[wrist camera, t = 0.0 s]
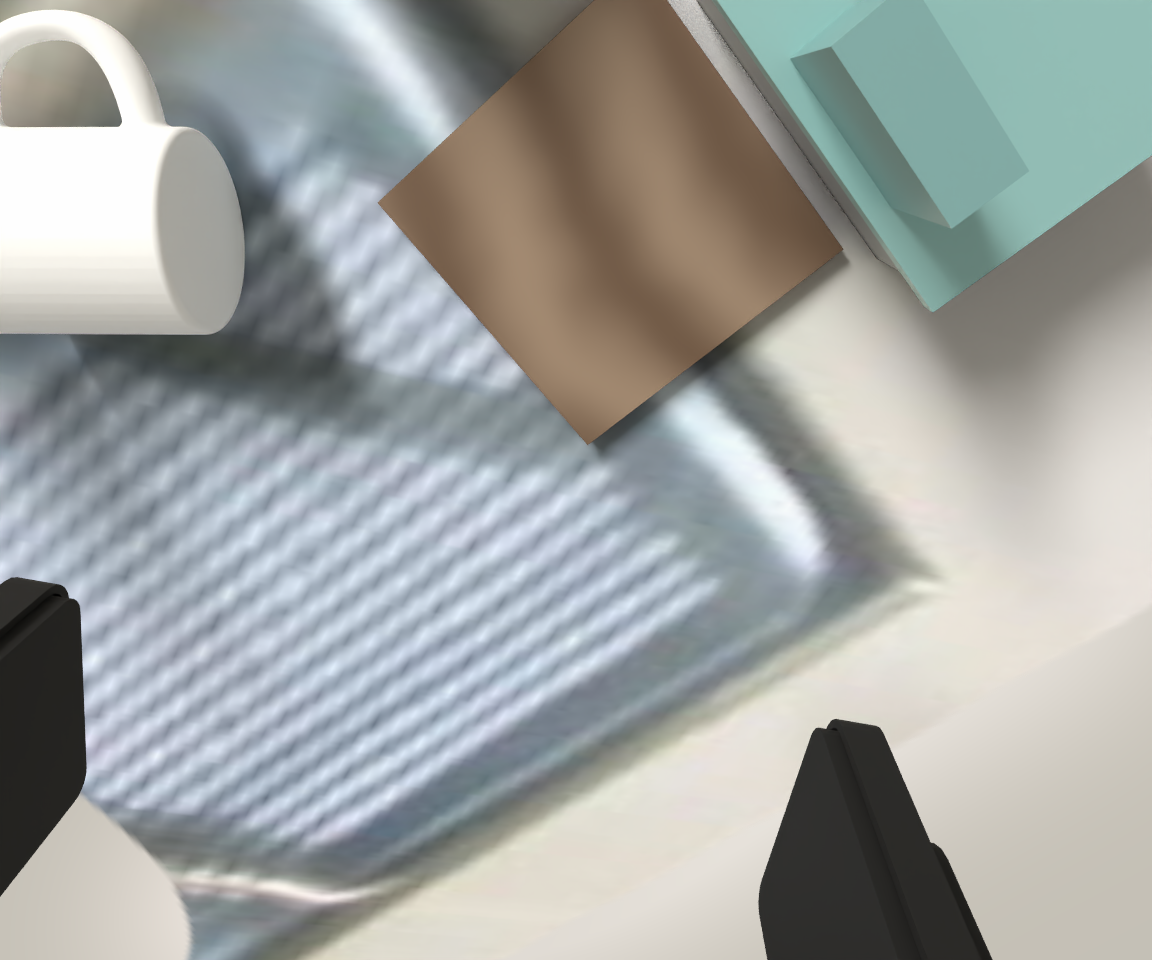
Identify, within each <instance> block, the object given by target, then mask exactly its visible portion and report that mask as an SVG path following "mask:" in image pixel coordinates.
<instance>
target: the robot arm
mask: <svg viewBox="0 0 1152 960" xmlns="http://www.w3.org/2000/svg"><path fill="white" fill-rule="evenodd" d="M85 776H86V742H85V716H84V691H83V666H82V640H81V615H80V606H79V604H78V602H77V601H76V600H74V599H70V598H69V596H68V592H67V591H66V589H65V587H63V586H62V585H59V584H53V583H47V582H41V581H36V580H30V579H24V578H18V577H15V578H10V579H8V580H6V581H4V582H3V583H2V584H0V896H1V895H2V894H3V892H4V891H5V890H6V889H7V887H8V886H9V885H10V883H11V882H12V881H13V879H14V878H15V877H16V876H17V874H18V873H19V872H20V871H21V869H22V868H23V867H24V865H25V864H26V863H27V862H28V860H29V859H30V858H31V857H32V855H33V854H34V853H35V852H36V850H37V849H38V848H39V846H40V845H41V844H42V842H43V841H44V840H45V839H46V837H47V836H48V835H49V834H50V832H51V831H52V830H53V828H54V827H55V826H56V825H57V823H58V822H59V821H60V820H61V818H62V817H63V816H64V814H65V813H66V812H67V811H68V809H69V808H70V807H71V806H72V804H73V803H74V802H75V800H76V799H77V797H78V796H79V793H80V791H81V789H82V787H83V784H84V781H85ZM759 915H760V921H761V927H762V932H763V938H764V943H765V948H766V954H767V959H768V960H992V958H991V956H990V953H989V951H988V949H987V946H986V944H985V942H984V940H983V938H982V935H981V933H980V931H979V928H978V926H977V924H976V922H975V919H974V917H973V915H972V913H971V910H970V908H969V906H968V904H967V901H966V899H965V897H964V895H963V892H962V890H961V888H960V886H959V883H958V881H957V879H956V877H955V874H954V872H953V870H952V868H951V866H950V863H949V861H948V859H947V857H946V856H945V854H944V852H943V851H942V849H941V848H939V847H938V846H937V845H936V844H934V843H931V842H930V840H929V838H928V836H927V833H926V831H925V828H924V826H923V824H922V822H921V819H920V817H919V815H918V812H917V810H916V808H915V805H914V803H913V801H912V798H911V796H910V794H909V791H908V789H907V787H906V784H905V782H904V780H903V778H902V775H901V773H900V771H899V768H898V766H897V764H896V761H895V759H894V757H893V754H892V752H891V750H890V747H889V745H888V743H887V740H886V738H885V736H884V734H883V732H882V730H881V729H880V728H879V727H877V726H873V725H868V724H862V723H856V722H850V721H845V720H839V719H834V720H832V721H831V722H830V723H829V724H828V726H827V729H823V728H816V729H815V730H814V731H813V733H812V735H811V738H810V741H809V744H808V746H807V749H806V752H805V755H804V758H803V761H802V764H801V767H800V770H799V773H798V776H797V779H796V782H795V785H794V787H793V790H792V793H791V796H790V799H789V802H788V805H787V808H786V811H785V814H784V817H783V820H782V823H781V826H780V828H779V831H778V835H777V837H776V840H775V843H774V846H773V849H772V852H771V855H770V858H769V861H768V864H767V866H766V870H765V872H764V875H763V878H762V882H761V885H760V891H759Z"/></svg>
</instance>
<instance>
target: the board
mask: <svg viewBox="0 0 1152 960" xmlns="http://www.w3.org/2000/svg"><path fill="white" fill-rule="evenodd" d="M378 204H379V205H380V206H381V207H382V209H383V210H384V211H385V212H386V213H387V214H388V215H389V217H390V218H391V219H392V220H393V221H394V222H395V223H396V225H397V226H398V227H399V228H400V229H401V230H402V232H403V233H404V234H405V235H406V236H407V237H408V238H409V240H410V241H411V242H412V243H413V244H414V245H415V247H416V248H417V249H418V250H419V251H420V252H421V253H422V255H423V256H424V257H425V258H426V259H427V260H428V262H429V263H430V264H431V265H432V266H433V267H434V268H435V270H436V271H437V272H438V273H439V274H440V275H441V276H442V278H443V279H444V280H445V281H446V282H447V283H448V285H449V286H450V287H451V288H452V289H453V290H454V291H455V293H456V294H457V295H458V296H459V297H460V298H461V300H462V301H463V302H464V303H465V304H466V305H467V306H468V308H469V309H470V310H471V311H472V312H473V313H474V315H475V316H476V317H477V318H478V319H479V320H480V321H481V323H482V324H483V325H484V326H485V327H486V328H487V329H488V331H489V332H490V333H491V334H492V335H493V336H494V338H495V339H496V340H497V341H498V342H499V343H500V344H501V346H502V347H503V348H504V349H505V350H506V351H507V353H508V354H509V355H510V356H511V357H512V358H513V359H514V361H515V362H516V363H517V364H518V365H519V366H520V368H521V369H522V370H523V371H524V372H525V373H526V374H527V376H528V377H529V378H530V379H531V380H532V381H533V383H534V384H535V385H536V386H537V387H538V388H539V389H540V391H541V392H542V393H543V394H544V395H545V396H546V397H547V399H548V400H549V401H550V402H551V403H552V404H553V406H554V407H555V408H556V409H557V410H558V411H559V412H560V414H561V415H562V416H563V417H564V418H565V419H566V421H567V422H568V423H569V424H570V425H571V426H572V427H573V429H574V430H575V431H576V432H577V433H578V434H579V436H580V437H581V438H582V439H583V440H584V441H585V442H586V444H587V445H588V444H590V443H591V442H592V441H594V440H595V439H596V438H597V437H599V436H600V435H601V434H603V433H604V432H605V431H607V430H608V429H609V428H611V427H612V426H613V425H614V424H616V423H617V422H618V421H620V420H621V419H622V418H624V417H625V416H626V415H628V414H629V413H630V412H631V411H633V410H634V409H635V408H637V407H638V406H639V405H641V404H642V403H643V402H645V401H646V400H647V399H648V398H650V397H651V396H652V395H654V394H655V393H656V392H658V391H659V390H660V389H662V388H663V387H664V386H665V385H667V384H668V383H669V382H671V381H672V380H673V379H675V378H676V377H677V376H679V375H680V374H681V373H682V372H684V371H685V370H686V369H688V368H689V367H690V366H692V365H693V364H694V363H696V362H697V361H698V360H699V359H701V358H702V357H703V356H705V355H706V354H707V353H709V352H710V351H711V350H713V349H714V348H715V347H716V346H718V345H719V344H720V343H722V342H723V341H724V340H726V339H727V338H728V337H730V336H731V335H732V334H733V333H735V332H736V331H737V330H739V329H740V328H741V327H743V326H744V325H745V324H747V323H748V322H749V321H750V320H752V319H753V318H754V317H756V316H757V315H758V314H760V313H761V312H762V311H764V310H765V309H766V308H767V307H769V306H770V305H771V304H773V303H774V302H775V301H777V300H778V299H779V298H781V297H782V296H783V295H784V294H786V293H787V292H788V291H790V290H791V289H792V288H794V287H795V286H796V285H798V284H799V283H800V282H801V281H803V280H804V279H805V278H807V277H808V276H809V275H811V274H812V273H813V272H815V271H816V270H817V269H818V268H820V267H821V266H822V265H824V264H825V263H826V262H828V261H829V260H830V259H832V258H833V257H834V256H835V255H837V254H838V253H839V252H841V251H842V250H843V248H842V247H841V245H840V244H839V243H838V241H837V240H836V238H835V237H834V235H833V234H832V233H831V231H830V230H829V228H828V227H827V226H826V224H825V223H824V221H823V220H822V219H821V217H820V216H819V214H818V213H817V211H816V210H815V209H814V207H813V206H812V204H811V203H810V202H809V200H808V199H807V197H806V196H805V195H804V193H803V192H802V190H801V189H800V187H799V186H798V185H797V183H796V182H795V180H794V179H793V178H792V176H791V175H790V173H789V172H788V171H787V169H786V168H785V166H784V165H783V163H782V162H781V161H780V159H779V158H778V156H777V155H776V154H775V152H774V151H773V149H772V148H771V146H770V145H769V144H768V142H767V141H766V139H765V138H764V137H763V135H762V134H761V132H760V131H759V130H758V128H757V127H756V125H755V124H754V122H753V121H752V120H751V118H750V117H749V115H748V114H747V113H746V111H745V110H744V108H743V107H742V106H741V104H740V103H739V101H738V100H737V98H736V97H735V96H734V94H733V93H732V91H731V90H730V89H729V87H728V86H727V84H726V83H725V82H724V80H723V79H722V77H721V76H720V74H719V73H718V72H717V70H716V69H715V67H714V66H713V65H712V63H711V62H710V60H709V59H708V57H707V56H706V55H705V53H704V52H703V50H702V49H701V48H700V46H699V45H698V43H697V42H696V41H695V39H694V38H693V36H692V35H691V33H690V32H689V31H688V29H687V28H686V26H685V25H684V24H683V22H682V21H681V19H680V18H679V17H678V15H677V14H676V12H675V11H674V9H673V8H672V7H671V5H670V4H669V2H668V1H667V0H594V1H593V2H592V3H591V4H590V5H589V6H588V7H586V8H585V9H584V10H583V11H582V12H581V13H580V14H579V15H578V16H577V17H576V18H575V19H574V20H573V21H571V22H570V23H569V24H568V25H567V26H566V27H565V28H564V29H563V30H562V31H561V32H560V33H559V34H558V35H557V36H555V37H554V38H553V39H552V40H551V41H550V42H549V43H548V44H547V45H546V46H545V47H544V48H543V49H542V50H540V51H539V52H538V53H537V54H536V55H535V56H534V57H533V58H532V59H531V60H530V61H529V62H528V63H527V64H526V65H524V66H523V67H522V68H521V69H520V70H519V71H518V72H517V73H516V74H515V75H514V76H513V77H512V78H511V79H509V80H508V81H507V82H506V83H505V84H504V85H503V86H502V87H501V88H500V89H499V90H498V91H497V92H496V93H494V94H493V95H492V96H491V97H490V98H489V99H488V100H487V101H486V102H485V103H484V104H483V105H482V106H481V107H480V108H478V109H477V110H476V111H475V112H474V113H473V114H472V115H471V116H470V117H469V118H468V119H467V120H466V121H465V122H463V123H462V124H461V125H460V126H459V127H458V128H457V129H456V130H455V131H454V132H453V133H452V134H451V135H450V136H448V137H447V138H446V139H445V140H444V141H443V142H442V143H441V144H440V145H439V146H438V147H437V148H436V149H435V150H434V151H432V152H431V153H430V154H429V155H428V156H427V157H426V158H425V159H424V160H423V161H422V162H421V163H420V164H419V165H417V166H416V167H415V168H414V169H413V170H412V171H411V172H410V173H409V174H408V175H407V176H406V177H405V178H404V179H403V180H401V181H400V182H399V183H398V184H397V185H396V186H395V187H394V188H393V189H392V190H391V191H390V192H389V193H388V194H386V195H385V196H384V197H383V198H382V199H381V200H380V201H379V202H378Z"/></svg>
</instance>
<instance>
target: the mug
mask: <svg viewBox="0 0 1152 960" xmlns="http://www.w3.org/2000/svg"><path fill="white" fill-rule="evenodd" d="M54 40H63V41H70V42H74V43H76V44H78V45H80V46H82V47H83V48H84V49H86V50H87V51H88V52H89V53H90V54H91V55H92V56H93V57H94V58H95V60H96V61H97V62H98V64H99V65H100V67H101V68H102V70H103V72H104V73H105V75H106V77H107V79H108V81H109V83H110V85H111V88H112V90H113V93H114V95H115V98H116V100H117V104H118V107H119V110H120V113H121V117H122V124H121V125H120V126H119V127H8V126H6V125H5V123H4V122H3V118H2V110H1V80H2V75H3V71H4V68H5V66H6V64H7V62H8V60H9V59H10V58H11V57H12V56H13V55H14V54H15V53H16V52H17V51H19V50H20V49H22V48H24V47H27V46H29V45H32V44H35V43H40V42H45V41H54ZM244 267H245V242H244V230H243V222H242V216H241V210H240V206H239V201H238V197H237V193H236V190H235V187H234V184H233V181H232V178H231V175H230V173H229V170H228V168H227V166H226V164H225V162H224V160H223V158H222V156H221V154H220V153H219V151H218V150H217V148H216V147H215V146H214V144H213V143H212V142H211V141H210V140H209V139H208V138H207V137H206V136H205V135H204V134H202V133H201V132H199V131H198V130H195V129H193V128H189V127H171V126H169V125H168V124H167V123H166V121H165V117H164V113H163V109H162V106H161V102H160V99H159V96H158V92H157V90H156V87H155V84H154V82H153V79H152V77H151V75H150V73H149V71H148V69H147V67H146V65H145V63H144V61H143V60H142V58H141V56H140V55H139V53H138V52H137V51H136V49H135V48H134V47H133V46H132V44H131V43H130V42H129V41H128V40H127V39H126V38H125V37H124V36H123V35H122V34H121V33H119V32H118V31H117V30H116V29H114V28H113V27H111V26H110V25H108V24H106V23H105V22H103V21H101V20H99V19H97V18H94V17H92V16H89V15H86V14H82V13H78V12H72V11H66V10H42V11H34V12H28V13H24V14H20V15H17V16H14V17H12V18H9V19H7V20H5V21H3V22H1V23H0V334H166V335H208V334H213V333H216V332H218V331H220V330H221V329H222V328H224V327H225V326H226V325H227V323H228V322H229V321H230V319H231V318H232V316H233V314H234V312H235V310H236V308H237V305H238V302H239V298H240V295H241V290H242V285H243V278H244Z"/></svg>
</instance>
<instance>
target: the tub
mask: <svg viewBox="0 0 1152 960" xmlns="http://www.w3.org/2000/svg"><path fill="white" fill-rule="evenodd" d="M697 1H698V3H699V4H700V6H701V7H702V9H703V10H704V12H705V13H706V14H707V16H708V17H709V19H710V20H711V22H712V23H713V24H714V26H715V27H716V29H717V30H718V32H719V33H720V34H721V36H722V37H723V39H724V40H725V42H726V43H727V44H728V46H729V47H730V49H731V50H732V52H733V53H734V55H735V56H736V57H737V59H738V60H739V62H740V63H741V65H742V66H743V67H744V69H745V70H746V72H747V73H748V75H749V76H750V77H751V79H752V80H753V82H754V83H755V85H756V86H757V87H758V89H759V90H760V92H761V93H762V95H763V96H764V98H765V99H766V100H767V102H768V103H769V105H770V106H771V108H772V109H773V110H774V112H775V113H776V115H777V116H778V118H779V119H780V120H781V122H782V123H783V125H784V126H785V128H786V129H787V130H788V132H789V133H790V135H791V136H792V138H793V139H794V141H795V142H796V143H797V145H798V146H799V148H800V149H801V151H802V152H803V153H804V155H805V156H806V158H807V159H808V161H809V162H810V163H811V165H812V166H813V168H814V169H815V171H816V172H817V173H818V175H819V176H820V178H821V179H822V181H823V182H824V184H825V185H826V186H827V188H828V189H829V191H830V192H831V194H832V195H833V196H834V198H835V199H836V201H837V202H838V204H839V205H840V206H841V208H842V209H843V211H844V212H845V214H846V215H847V216H848V218H849V219H850V221H851V222H852V224H853V225H854V227H855V228H856V229H857V231H858V232H859V234H860V235H861V237H862V238H863V239H864V241H865V242H866V244H867V245H868V247H869V248H870V249H871V251H872V252H873V254H874V255H875V257H876V258H877V259H879V260H880V261H882V262H884V263H886V264H887V265H889V266H891V267H893V268H895V269H896V270H898V269H897V267H896V266H895V264H894V263H893V262H892V260H891V259H890V257H889V256H888V254H887V253H886V251H885V250H884V249H883V247H882V246H881V244H880V243H879V241H878V240H877V238H876V237H875V236H874V234H873V233H872V231H871V230H870V228H869V227H868V225H867V224H866V223H865V221H864V220H863V218H862V217H861V215H860V214H859V212H858V211H857V210H856V208H855V207H854V205H853V204H852V202H851V201H850V199H849V198H848V197H847V195H846V194H845V192H844V191H843V189H842V188H841V186H840V185H839V184H838V182H837V181H836V179H835V178H834V176H833V175H832V173H831V172H830V171H829V169H828V168H827V166H826V165H825V163H824V162H823V160H822V159H821V158H820V156H819V155H818V153H817V152H816V150H815V149H814V147H813V146H812V145H811V143H810V142H809V140H808V139H807V137H806V136H805V134H804V133H803V132H802V130H801V129H800V127H799V126H798V124H797V123H796V121H795V120H794V119H793V117H792V116H791V114H790V113H789V111H788V110H787V108H786V107H785V106H784V104H783V103H782V101H781V100H780V98H779V97H778V96H777V94H776V93H775V91H774V90H773V88H772V87H771V85H770V84H769V83H768V81H767V80H766V78H765V77H764V75H763V74H762V72H761V71H760V70H759V68H758V67H757V65H756V64H755V62H754V61H753V59H752V58H751V57H750V55H749V54H748V52H747V51H746V49H745V48H744V46H743V45H742V44H741V42H740V41H739V39H738V38H737V36H736V35H735V33H734V32H733V31H732V29H731V28H730V26H729V25H728V23H727V22H726V20H725V19H724V18H723V16H722V15H721V13H720V12H719V10H718V9H717V7H716V6H715V5H714V3H713V2H712V0H697ZM898 271H899V270H898Z"/></svg>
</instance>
